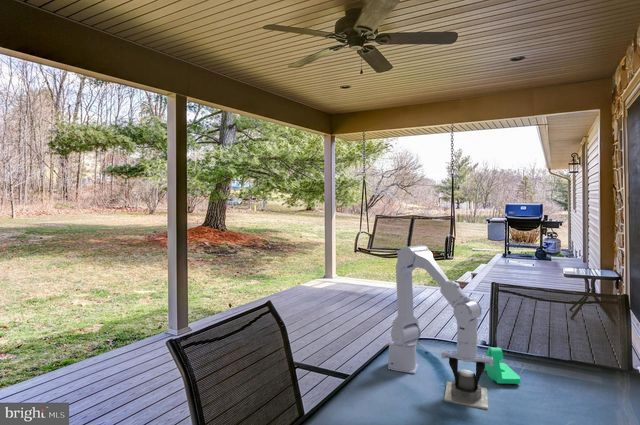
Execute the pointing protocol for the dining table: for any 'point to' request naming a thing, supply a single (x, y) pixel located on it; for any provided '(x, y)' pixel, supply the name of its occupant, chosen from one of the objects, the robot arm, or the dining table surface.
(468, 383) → the gray cylindrical peg
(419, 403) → the dining table surface
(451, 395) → the white square plate
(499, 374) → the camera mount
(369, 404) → the dining table surface
